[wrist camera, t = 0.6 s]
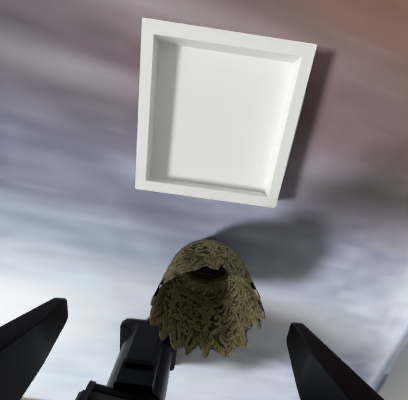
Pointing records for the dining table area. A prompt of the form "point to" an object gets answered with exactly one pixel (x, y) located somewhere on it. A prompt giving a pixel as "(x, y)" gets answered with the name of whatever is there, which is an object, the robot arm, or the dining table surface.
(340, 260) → the dining table surface
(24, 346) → the robot arm
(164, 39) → the white tray
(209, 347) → the brown hollow flared piece
